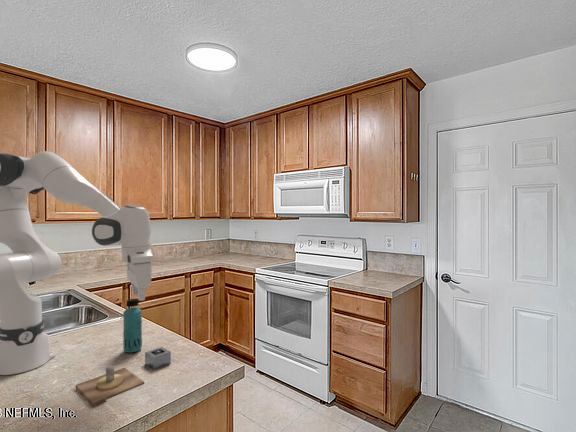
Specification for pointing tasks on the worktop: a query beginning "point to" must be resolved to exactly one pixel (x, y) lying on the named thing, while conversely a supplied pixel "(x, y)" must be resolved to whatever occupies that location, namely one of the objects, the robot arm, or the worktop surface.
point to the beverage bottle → (132, 327)
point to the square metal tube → (157, 358)
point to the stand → (156, 354)
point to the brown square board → (108, 385)
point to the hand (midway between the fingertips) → (138, 297)
